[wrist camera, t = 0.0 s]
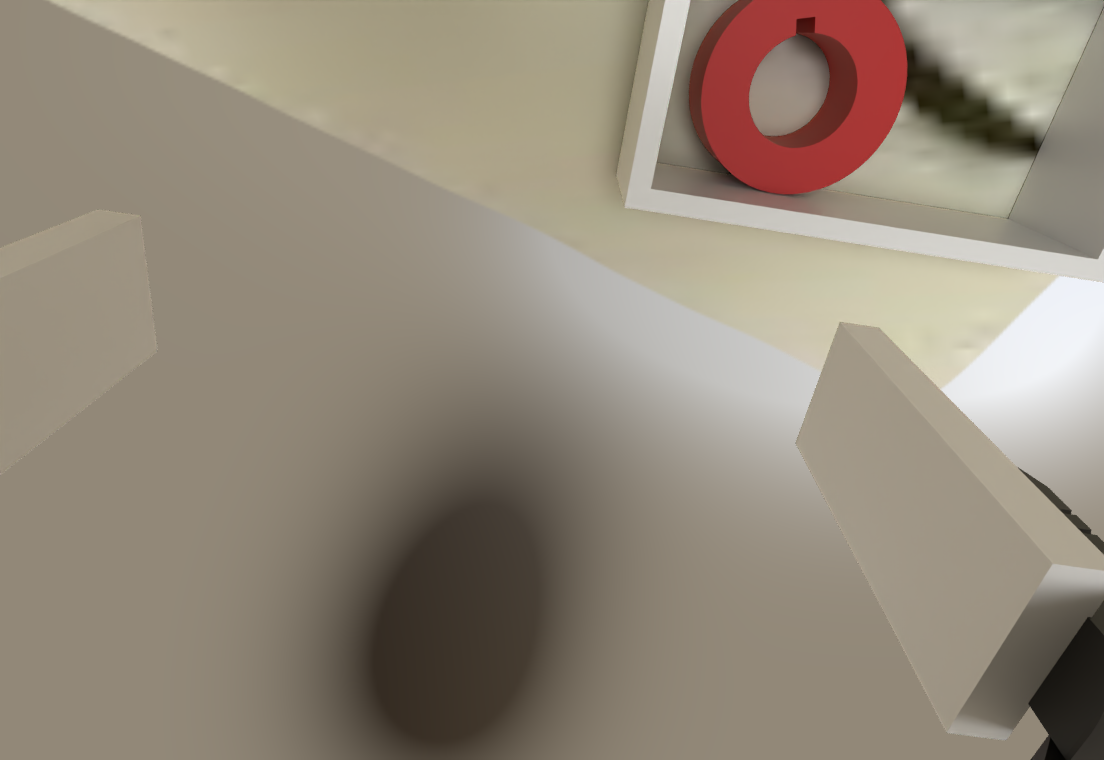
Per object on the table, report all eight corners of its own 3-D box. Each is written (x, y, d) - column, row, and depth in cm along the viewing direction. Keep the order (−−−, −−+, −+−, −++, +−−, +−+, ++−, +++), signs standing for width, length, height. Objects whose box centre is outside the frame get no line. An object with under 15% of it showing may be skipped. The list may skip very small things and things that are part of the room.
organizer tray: (671, -121, 32) (695, -158, 26) (1145, -37, 33) (1289, -51, 26) (616, 175, 38) (624, 207, 32) (1017, 238, 39) (1107, 283, 33)
